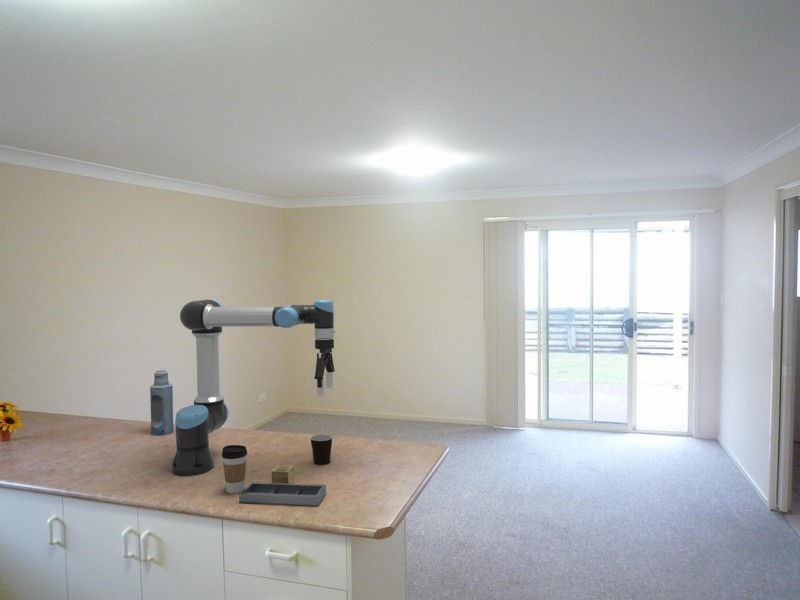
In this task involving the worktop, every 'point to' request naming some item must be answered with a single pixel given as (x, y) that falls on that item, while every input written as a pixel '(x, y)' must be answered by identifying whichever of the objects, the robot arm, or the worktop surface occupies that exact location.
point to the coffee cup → (234, 467)
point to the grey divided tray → (283, 494)
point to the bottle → (161, 404)
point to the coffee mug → (321, 448)
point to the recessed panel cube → (283, 474)
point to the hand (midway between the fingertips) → (325, 391)
